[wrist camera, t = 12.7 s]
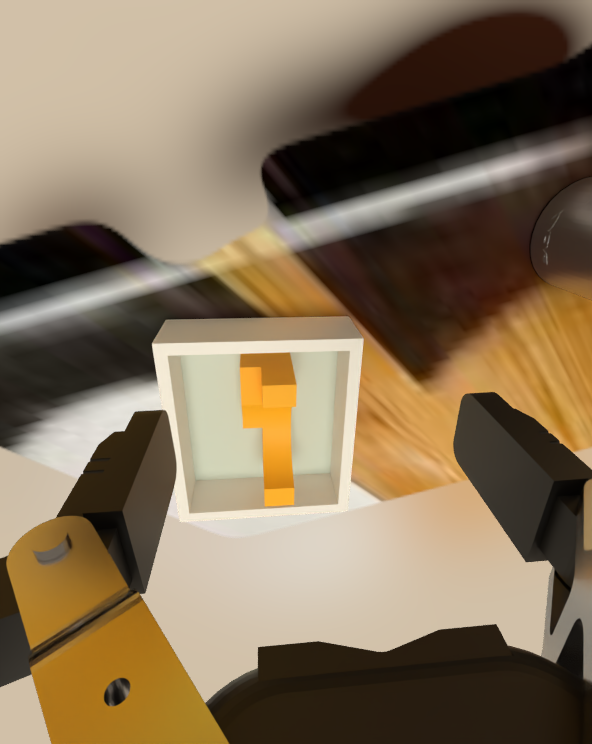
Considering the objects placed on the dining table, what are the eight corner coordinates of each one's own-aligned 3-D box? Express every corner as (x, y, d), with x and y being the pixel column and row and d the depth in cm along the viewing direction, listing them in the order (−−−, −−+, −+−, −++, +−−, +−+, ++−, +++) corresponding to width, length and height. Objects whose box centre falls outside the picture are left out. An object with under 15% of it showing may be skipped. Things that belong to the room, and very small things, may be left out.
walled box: (348, 316, 36) (363, 338, 31) (337, 473, 44) (347, 511, 39) (166, 319, 35) (151, 343, 30) (188, 482, 43) (179, 522, 38)
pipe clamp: (240, 351, 36) (238, 386, 30) (289, 350, 36) (296, 384, 30) (245, 460, 41) (244, 507, 35) (288, 458, 42) (294, 504, 36)
